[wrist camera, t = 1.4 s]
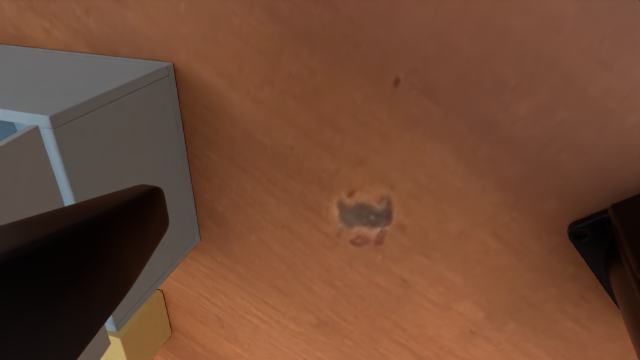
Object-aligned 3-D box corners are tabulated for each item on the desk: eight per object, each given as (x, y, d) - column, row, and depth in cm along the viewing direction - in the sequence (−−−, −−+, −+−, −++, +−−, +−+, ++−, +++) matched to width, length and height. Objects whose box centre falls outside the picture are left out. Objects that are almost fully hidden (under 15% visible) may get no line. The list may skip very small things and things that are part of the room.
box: (173, 62, 22) (48, 116, 15) (200, 240, 27) (117, 333, 21) (-13, 42, 25) (-179, 80, 18) (46, 206, 30) (-67, 278, 24)
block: (162, 290, 31) (119, 339, 27) (172, 333, 33) (134, 384, 29) (110, 276, 32) (62, 322, 28) (123, 319, 34) (80, 366, 30)
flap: (30, 124, 15) (38, 124, 15) (105, 342, 20) (111, 343, 20) (-153, 224, 10) (-142, 226, 10) (12, 479, 15) (20, 481, 15)
